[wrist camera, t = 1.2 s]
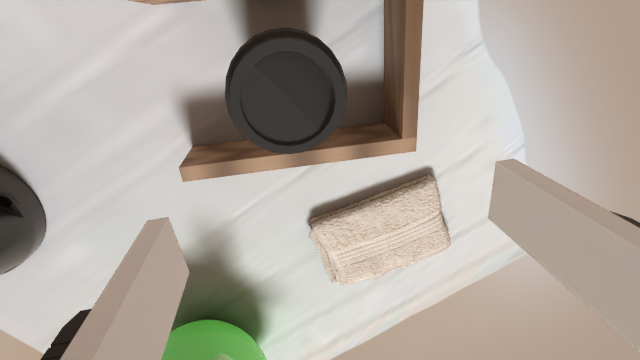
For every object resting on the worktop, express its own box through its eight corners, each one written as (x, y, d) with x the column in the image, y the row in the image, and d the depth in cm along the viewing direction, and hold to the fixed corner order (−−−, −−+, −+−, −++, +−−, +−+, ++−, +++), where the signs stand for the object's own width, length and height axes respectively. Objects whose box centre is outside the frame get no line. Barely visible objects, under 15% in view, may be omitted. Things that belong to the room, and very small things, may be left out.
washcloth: (302, 218, 43) (304, 231, 40) (429, 168, 42) (441, 178, 39) (332, 280, 48) (335, 295, 45) (445, 236, 47) (456, 249, 44)
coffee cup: (281, 7, 31) (287, -7, 18) (337, 71, 35) (378, 101, 21) (224, 69, 33) (191, 99, 20) (283, 125, 36) (289, 184, 23)
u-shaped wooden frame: (196, 158, 37) (183, 181, 31) (148, -15, 29) (120, -23, 24) (396, 133, 39) (416, 151, 33) (399, -36, 31) (425, -48, 26)
